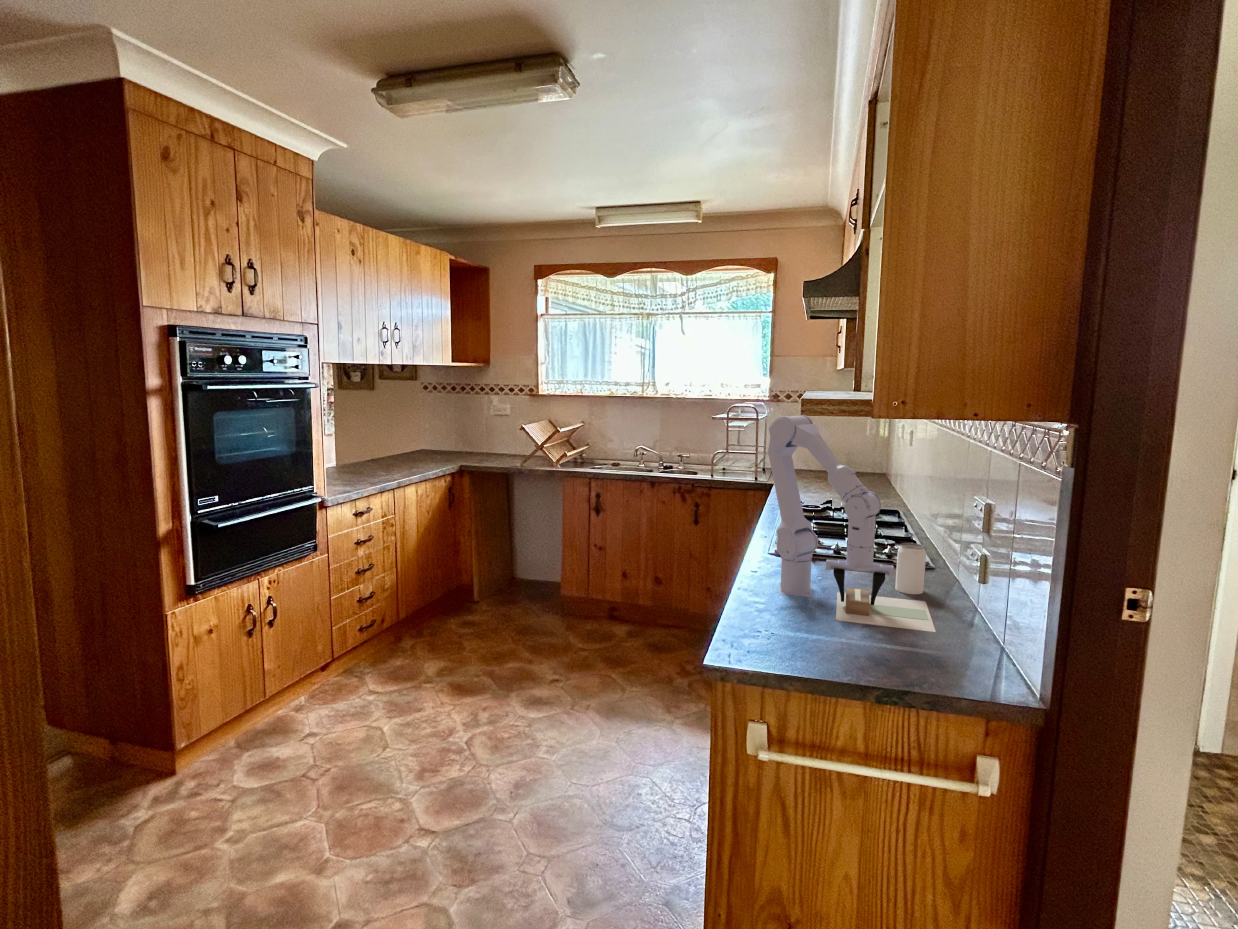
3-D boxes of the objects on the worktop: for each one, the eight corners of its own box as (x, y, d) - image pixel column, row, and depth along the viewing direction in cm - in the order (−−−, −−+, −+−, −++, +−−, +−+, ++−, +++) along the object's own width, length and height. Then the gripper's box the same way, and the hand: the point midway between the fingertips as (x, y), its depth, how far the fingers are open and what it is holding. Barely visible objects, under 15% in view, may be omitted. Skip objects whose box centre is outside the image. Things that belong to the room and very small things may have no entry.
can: (925, 597, 163) (929, 549, 161) (897, 595, 164) (901, 548, 162) (919, 589, 169) (922, 543, 167) (892, 587, 170) (895, 541, 168)
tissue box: (845, 599, 159) (846, 586, 158) (867, 601, 157) (868, 589, 157) (845, 613, 150) (846, 600, 149) (869, 616, 148) (869, 602, 147)
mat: (837, 594, 164) (837, 591, 164) (925, 603, 158) (925, 601, 158) (835, 622, 146) (835, 619, 145) (935, 634, 139) (935, 631, 139)
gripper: (826, 546, 150) (823, 603, 152) (896, 552, 145) (892, 611, 147) (827, 539, 157) (825, 594, 158) (894, 544, 152) (890, 601, 154)
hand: (857, 602), depth 153 cm, fingers open, 6 cm apart
